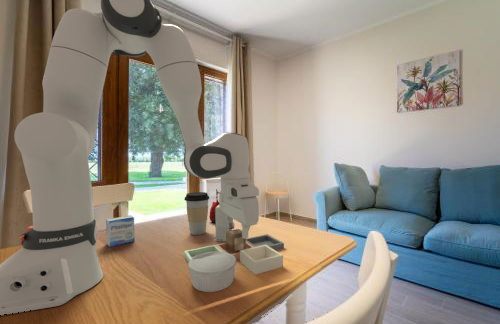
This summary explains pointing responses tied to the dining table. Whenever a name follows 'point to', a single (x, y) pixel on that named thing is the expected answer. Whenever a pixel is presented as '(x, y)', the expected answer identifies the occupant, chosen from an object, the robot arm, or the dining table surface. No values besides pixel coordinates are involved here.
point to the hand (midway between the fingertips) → (237, 232)
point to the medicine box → (120, 230)
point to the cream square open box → (261, 259)
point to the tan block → (234, 241)
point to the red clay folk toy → (212, 210)
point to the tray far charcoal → (265, 241)
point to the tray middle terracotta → (236, 255)
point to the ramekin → (212, 271)
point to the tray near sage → (200, 251)
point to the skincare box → (220, 225)
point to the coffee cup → (197, 211)
